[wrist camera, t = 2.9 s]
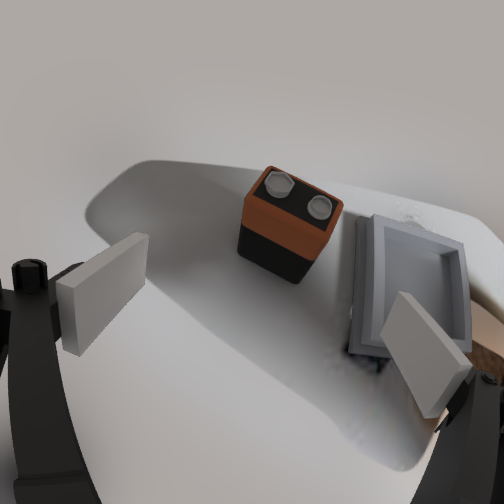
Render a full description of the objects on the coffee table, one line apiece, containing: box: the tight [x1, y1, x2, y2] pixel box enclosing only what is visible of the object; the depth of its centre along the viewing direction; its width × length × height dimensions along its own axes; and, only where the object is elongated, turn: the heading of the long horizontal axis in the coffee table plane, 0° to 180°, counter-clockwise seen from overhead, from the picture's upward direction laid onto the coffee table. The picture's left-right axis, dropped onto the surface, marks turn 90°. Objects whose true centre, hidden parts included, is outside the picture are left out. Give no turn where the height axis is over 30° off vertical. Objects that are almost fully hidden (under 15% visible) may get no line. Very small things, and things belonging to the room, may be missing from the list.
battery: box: [237, 166, 344, 284], centre depth 25 cm, size 4×7×10 cm, turn 62°
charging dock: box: [348, 214, 472, 359], centre depth 28 cm, size 15×15×3 cm
